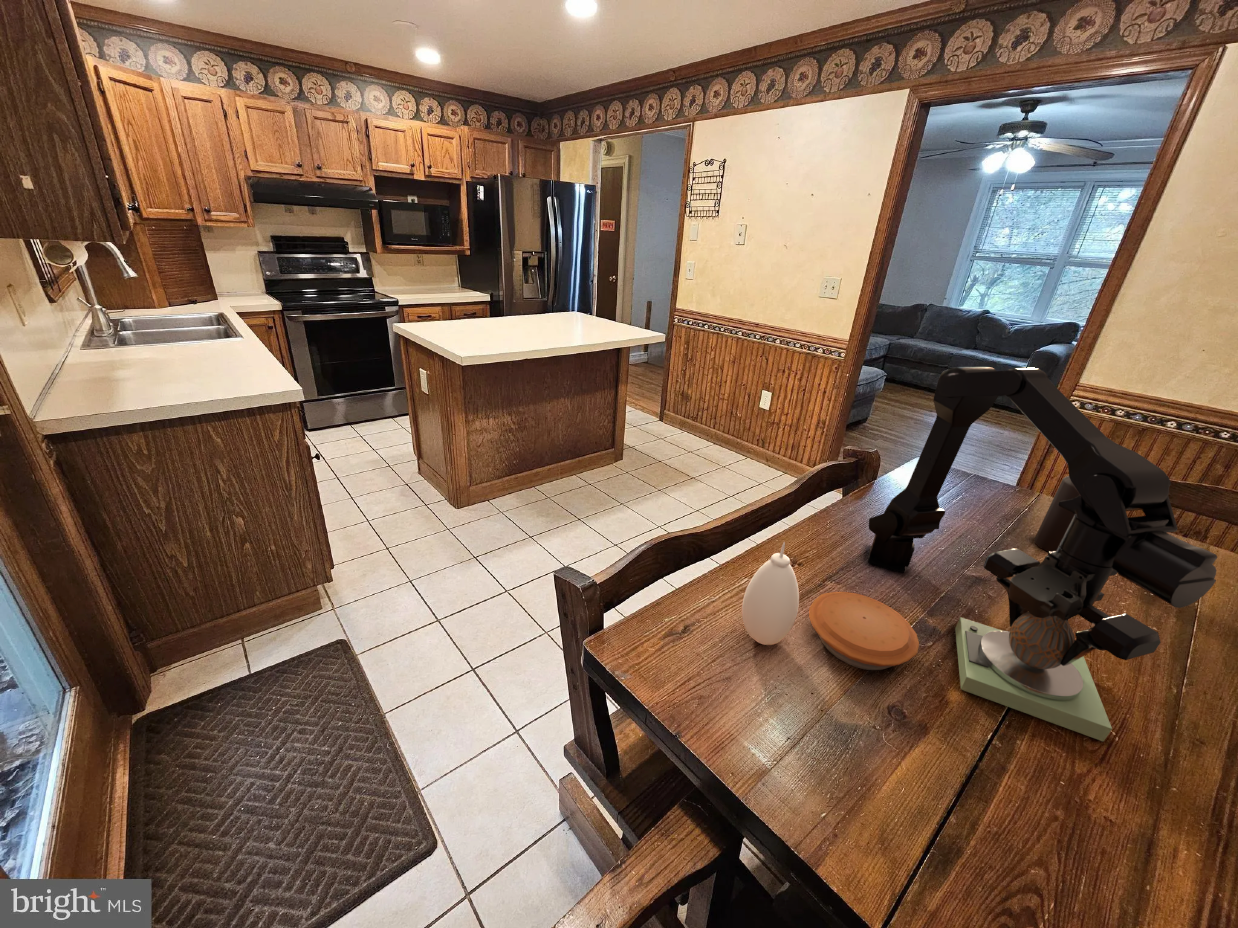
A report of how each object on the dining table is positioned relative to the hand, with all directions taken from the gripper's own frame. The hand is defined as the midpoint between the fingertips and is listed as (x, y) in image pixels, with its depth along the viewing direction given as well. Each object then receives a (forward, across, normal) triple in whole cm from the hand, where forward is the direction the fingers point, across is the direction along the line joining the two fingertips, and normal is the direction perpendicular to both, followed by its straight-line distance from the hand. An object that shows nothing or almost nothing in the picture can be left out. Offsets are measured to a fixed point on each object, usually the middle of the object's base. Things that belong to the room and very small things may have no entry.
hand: (1037, 644), depth 72 cm
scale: (+6, 0, 0) cm, 7 cm away
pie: (+7, -12, -19) cm, 23 cm away
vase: (+3, 0, 0) cm, 3 cm away
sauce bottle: (+7, -16, -33) cm, 38 cm away
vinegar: (+7, -25, +42) cm, 49 cm away
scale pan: (+4, 0, 0) cm, 4 cm away
